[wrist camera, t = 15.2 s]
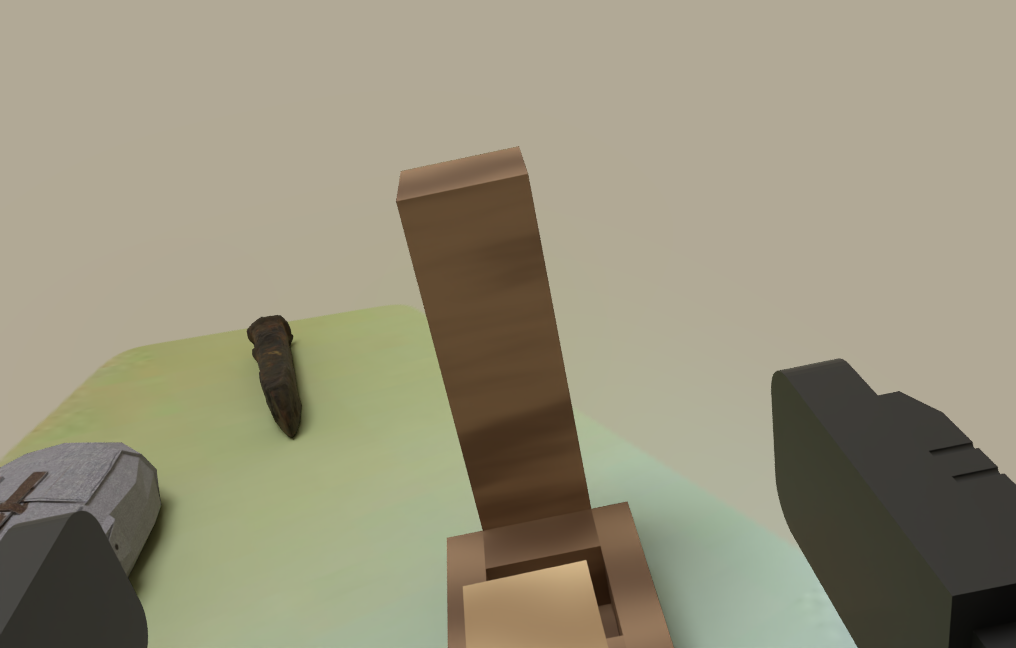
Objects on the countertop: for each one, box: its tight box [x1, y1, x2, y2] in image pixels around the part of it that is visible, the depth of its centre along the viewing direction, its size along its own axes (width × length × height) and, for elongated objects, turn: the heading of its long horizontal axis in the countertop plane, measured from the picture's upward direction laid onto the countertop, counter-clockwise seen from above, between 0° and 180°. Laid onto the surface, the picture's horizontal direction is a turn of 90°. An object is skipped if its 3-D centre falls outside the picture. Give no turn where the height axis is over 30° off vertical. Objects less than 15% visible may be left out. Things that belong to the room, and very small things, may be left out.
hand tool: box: [247, 315, 302, 437], centre depth 76 cm, size 19×4×5 cm, turn 17°
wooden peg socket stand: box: [396, 146, 674, 648], centre depth 35 cm, size 29×10×24 cm, turn 4°
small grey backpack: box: [0, 443, 161, 577], centre depth 56 cm, size 15×8×20 cm
